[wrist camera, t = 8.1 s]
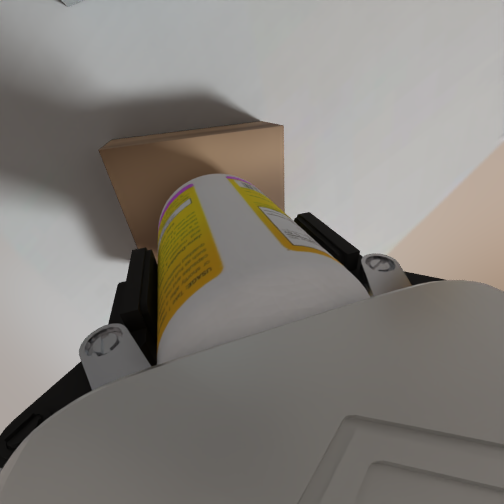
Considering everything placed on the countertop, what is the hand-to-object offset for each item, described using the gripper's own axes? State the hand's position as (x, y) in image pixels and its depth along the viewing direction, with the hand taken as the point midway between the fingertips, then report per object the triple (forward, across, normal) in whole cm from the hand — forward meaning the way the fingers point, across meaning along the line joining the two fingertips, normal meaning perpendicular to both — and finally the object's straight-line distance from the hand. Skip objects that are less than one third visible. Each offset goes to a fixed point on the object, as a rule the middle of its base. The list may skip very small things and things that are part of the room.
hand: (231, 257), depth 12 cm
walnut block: (+9, 0, 0) cm, 9 cm away
